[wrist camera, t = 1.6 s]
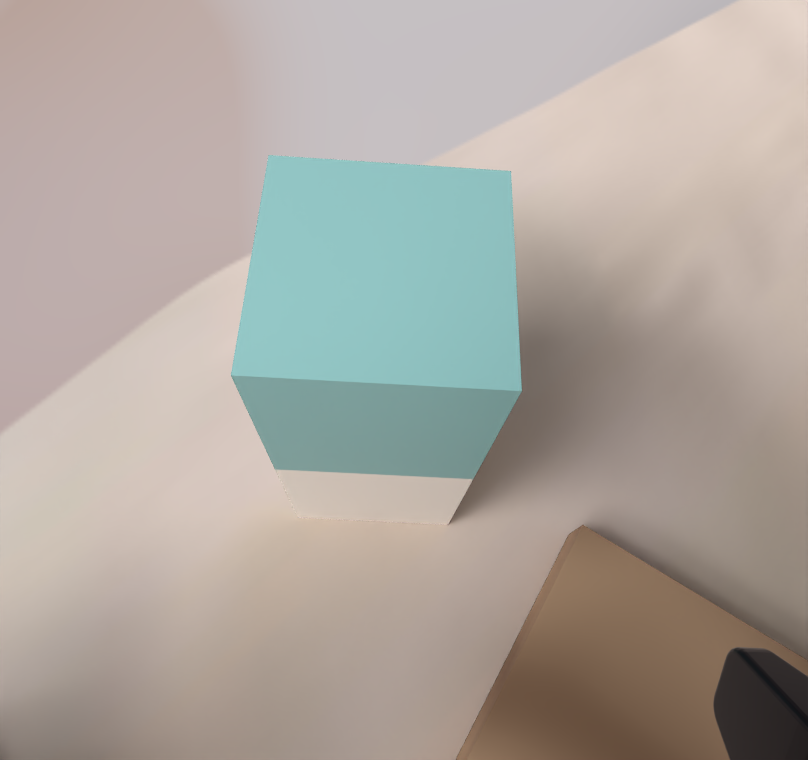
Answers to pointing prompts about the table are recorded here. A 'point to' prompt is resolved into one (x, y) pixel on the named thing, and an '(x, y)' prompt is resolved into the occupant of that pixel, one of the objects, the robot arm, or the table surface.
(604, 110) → the table surface
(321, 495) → the block
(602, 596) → the board
